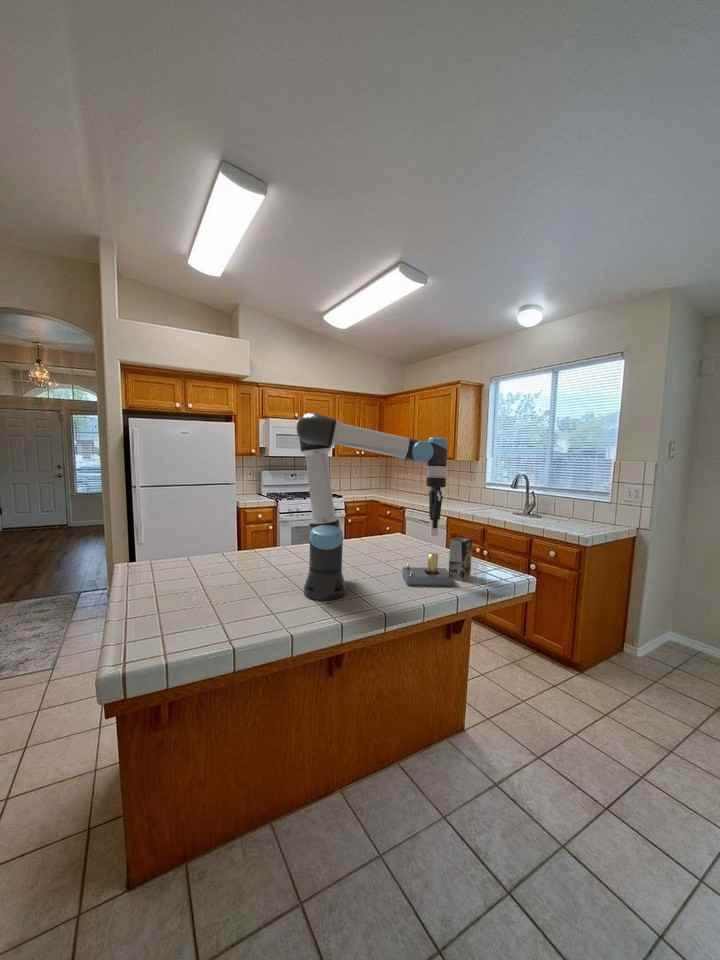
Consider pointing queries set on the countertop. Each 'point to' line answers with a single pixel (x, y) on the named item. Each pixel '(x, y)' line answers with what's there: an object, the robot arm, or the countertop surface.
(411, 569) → the jig
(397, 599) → the countertop surface
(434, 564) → the cylinder
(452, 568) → the coffee box
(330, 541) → the robot arm
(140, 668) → the countertop surface
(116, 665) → the countertop surface
